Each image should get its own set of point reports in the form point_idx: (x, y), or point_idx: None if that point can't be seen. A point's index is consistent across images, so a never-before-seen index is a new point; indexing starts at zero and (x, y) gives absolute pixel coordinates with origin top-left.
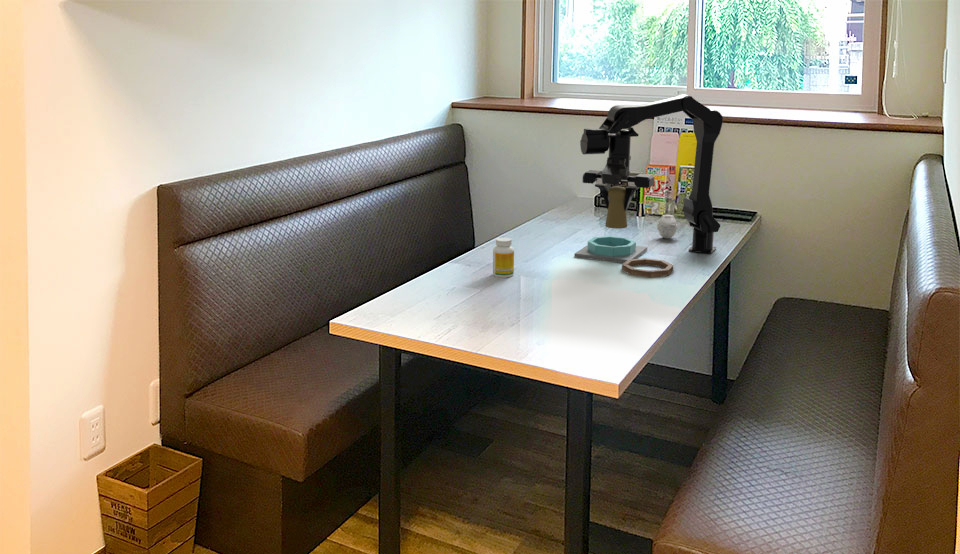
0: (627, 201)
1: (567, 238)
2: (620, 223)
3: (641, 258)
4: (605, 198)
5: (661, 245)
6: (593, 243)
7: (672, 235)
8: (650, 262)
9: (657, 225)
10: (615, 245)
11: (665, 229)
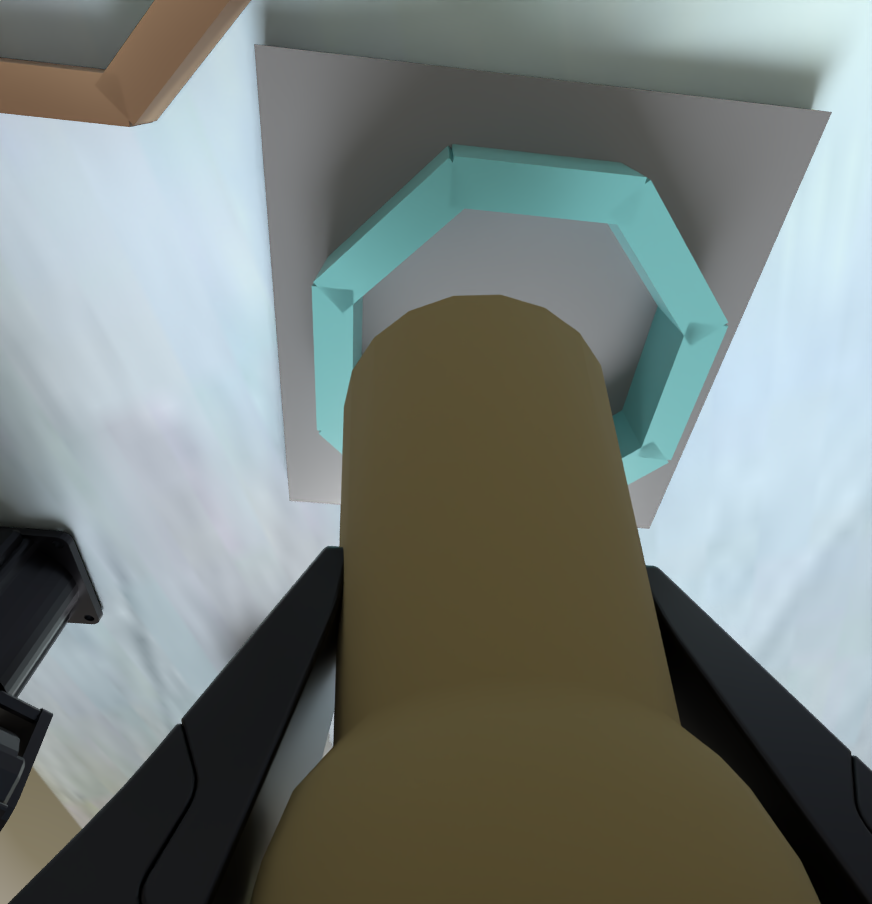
0: (230, 686)
1: (805, 575)
2: (396, 358)
3: (153, 93)
4: (801, 741)
5: (263, 592)
6: (673, 256)
7: None
8: (65, 67)
9: (325, 749)
10: None
11: None
